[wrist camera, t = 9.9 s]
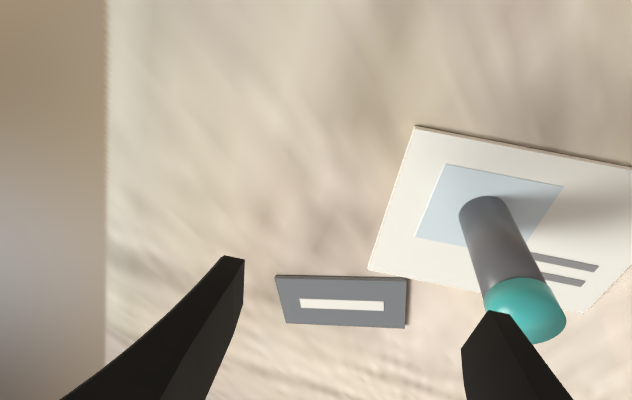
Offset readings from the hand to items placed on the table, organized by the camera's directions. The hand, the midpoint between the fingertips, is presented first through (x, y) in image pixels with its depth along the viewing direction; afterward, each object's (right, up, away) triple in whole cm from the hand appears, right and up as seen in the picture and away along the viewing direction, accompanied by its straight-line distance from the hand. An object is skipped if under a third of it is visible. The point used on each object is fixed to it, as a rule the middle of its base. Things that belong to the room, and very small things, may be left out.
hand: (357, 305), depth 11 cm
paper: (+10, +1, +10) cm, 14 cm away
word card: (+1, -4, +15) cm, 16 cm away
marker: (+8, +2, +9) cm, 12 cm away
